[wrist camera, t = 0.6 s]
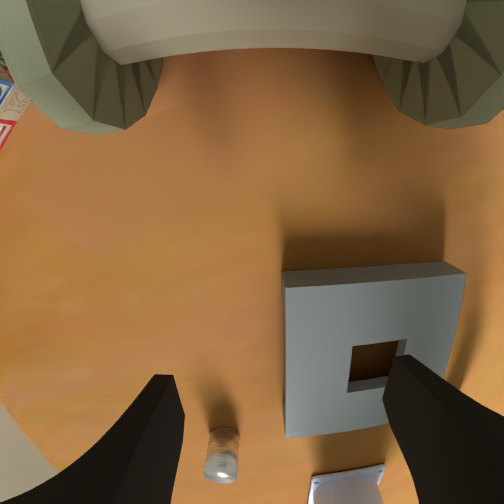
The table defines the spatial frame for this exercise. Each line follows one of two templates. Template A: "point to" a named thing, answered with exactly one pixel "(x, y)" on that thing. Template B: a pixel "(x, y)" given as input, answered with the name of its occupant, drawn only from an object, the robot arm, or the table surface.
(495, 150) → the table surface
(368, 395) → the board
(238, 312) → the table surface
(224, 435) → the short pin
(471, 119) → the spool
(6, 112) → the stack of blocks
